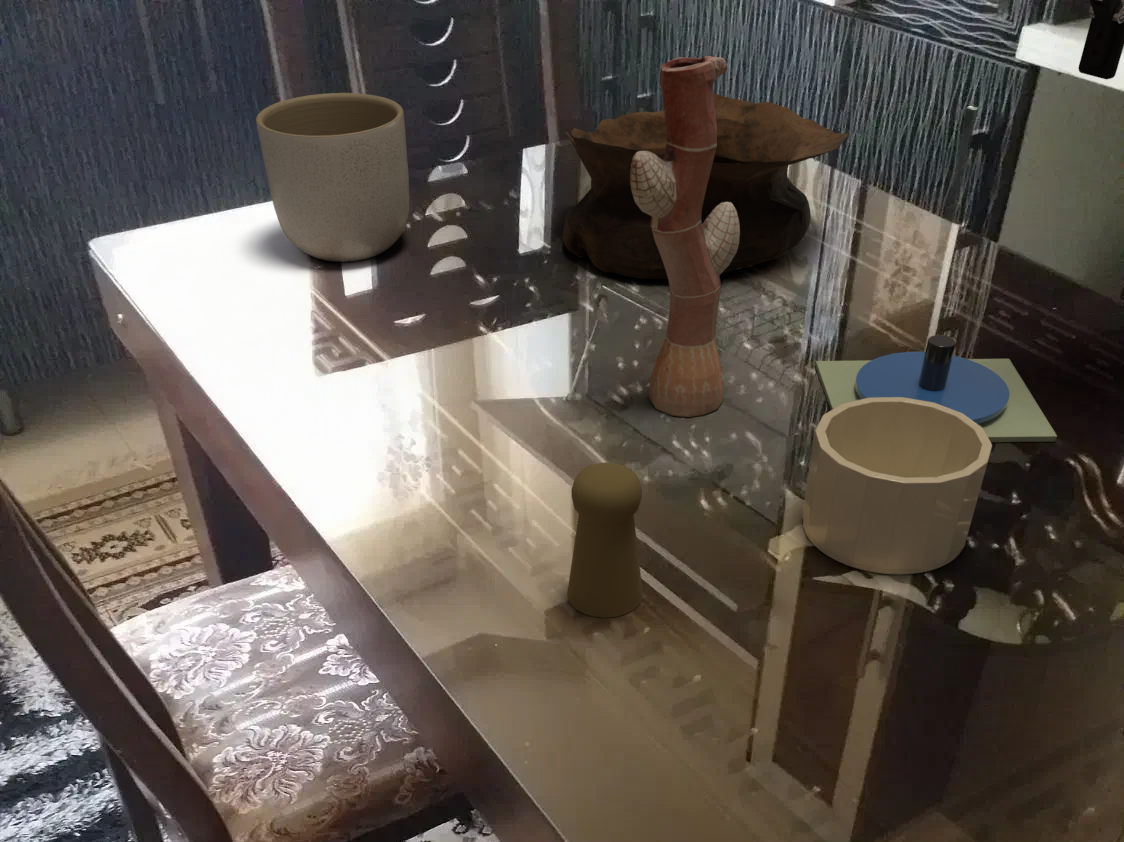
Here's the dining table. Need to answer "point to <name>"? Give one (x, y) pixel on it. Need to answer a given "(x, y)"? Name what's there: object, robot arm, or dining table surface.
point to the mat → (1010, 425)
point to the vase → (687, 237)
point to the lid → (936, 380)
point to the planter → (337, 172)
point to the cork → (605, 542)
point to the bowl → (736, 176)
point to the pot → (894, 484)
